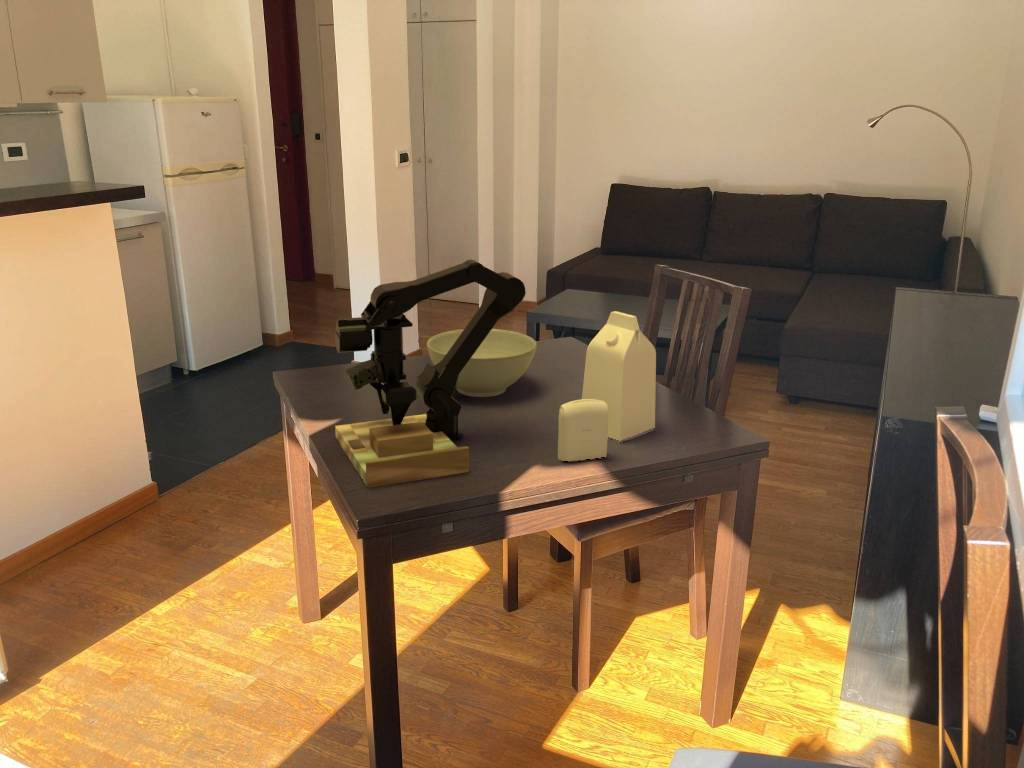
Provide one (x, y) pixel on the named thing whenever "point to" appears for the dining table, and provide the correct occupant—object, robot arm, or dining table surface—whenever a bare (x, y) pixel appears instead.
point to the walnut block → (401, 439)
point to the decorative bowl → (488, 360)
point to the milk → (622, 376)
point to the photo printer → (582, 430)
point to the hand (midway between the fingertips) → (390, 420)
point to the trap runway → (402, 466)
